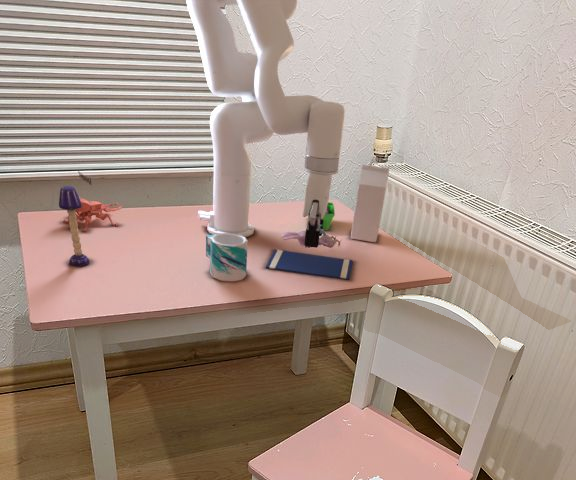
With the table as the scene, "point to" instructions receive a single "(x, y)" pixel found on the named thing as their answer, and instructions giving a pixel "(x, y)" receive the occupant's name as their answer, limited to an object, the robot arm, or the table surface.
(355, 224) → the milk carton
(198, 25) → the robot arm
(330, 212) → the fruit basket
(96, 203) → the beetle
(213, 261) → the mug
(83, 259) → the toy lamp
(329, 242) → the rabbit figure
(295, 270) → the cloth
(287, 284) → the table surface
